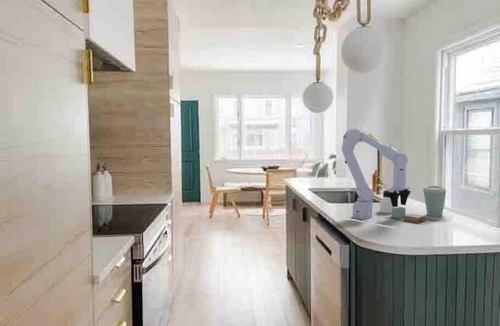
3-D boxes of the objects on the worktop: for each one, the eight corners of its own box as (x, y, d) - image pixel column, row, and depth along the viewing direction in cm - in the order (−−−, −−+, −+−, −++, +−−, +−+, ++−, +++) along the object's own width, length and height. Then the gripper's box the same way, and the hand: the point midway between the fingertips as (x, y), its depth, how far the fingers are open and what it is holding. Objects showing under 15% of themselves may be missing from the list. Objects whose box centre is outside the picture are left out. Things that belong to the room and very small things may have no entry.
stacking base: (423, 227, 184) (423, 219, 184) (383, 219, 199) (383, 212, 199) (438, 222, 193) (439, 215, 193) (399, 216, 208) (399, 209, 208)
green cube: (400, 218, 199) (400, 208, 199) (391, 216, 202) (392, 207, 202) (405, 216, 202) (405, 207, 202) (396, 215, 205) (397, 206, 205)
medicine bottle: (393, 215, 211) (393, 191, 211) (379, 213, 216) (380, 190, 215) (397, 213, 217) (398, 190, 216) (384, 211, 221) (384, 189, 221)
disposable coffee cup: (447, 219, 201) (447, 188, 200) (422, 217, 205) (423, 187, 204) (444, 215, 211) (445, 185, 210) (421, 214, 215) (422, 185, 214)
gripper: (398, 179, 193) (398, 208, 194) (415, 177, 202) (414, 205, 203) (385, 178, 199) (384, 206, 200) (401, 176, 208) (401, 203, 209)
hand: (398, 205), depth 202 cm, fingers open, 7 cm apart
